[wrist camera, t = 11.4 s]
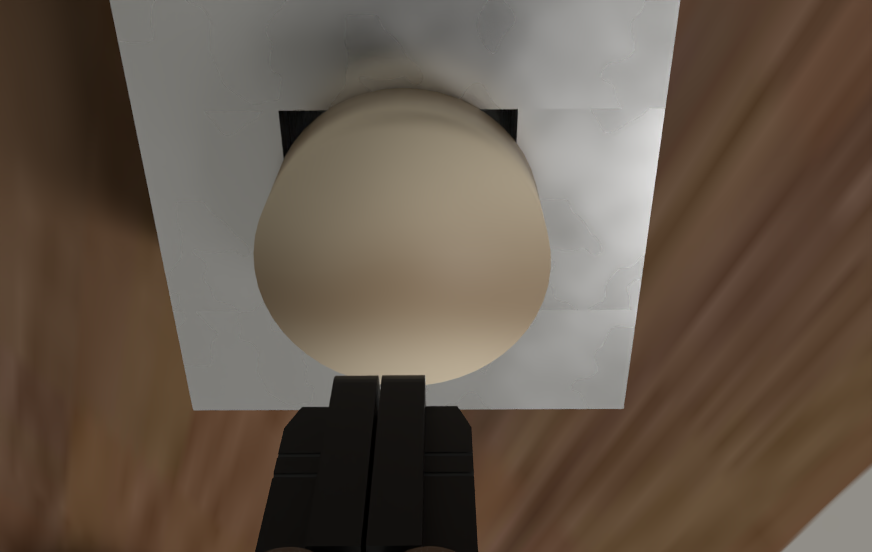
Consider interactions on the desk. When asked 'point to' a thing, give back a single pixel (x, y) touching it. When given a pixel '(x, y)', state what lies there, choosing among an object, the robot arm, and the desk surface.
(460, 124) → the beech pin
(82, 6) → the desk surface
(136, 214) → the desk surface
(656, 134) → the block
